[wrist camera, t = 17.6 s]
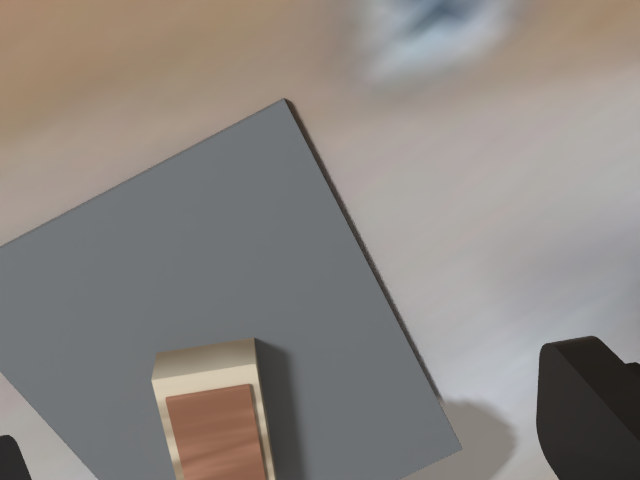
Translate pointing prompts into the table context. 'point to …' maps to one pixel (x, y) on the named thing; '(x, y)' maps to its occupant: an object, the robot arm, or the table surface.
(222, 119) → the table surface
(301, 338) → the mat
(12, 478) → the robot arm
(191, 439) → the card box
